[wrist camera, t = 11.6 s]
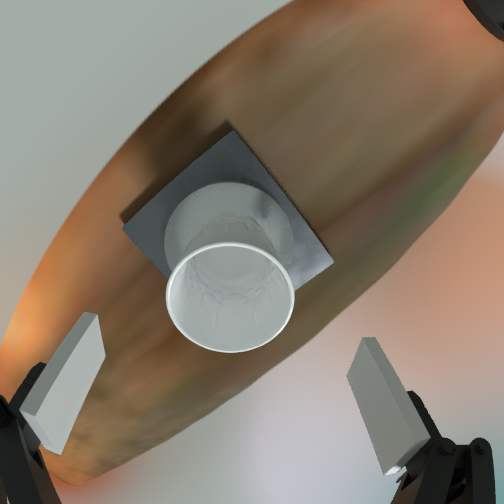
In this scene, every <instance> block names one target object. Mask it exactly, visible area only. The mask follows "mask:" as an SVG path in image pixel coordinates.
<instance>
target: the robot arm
mask: <svg viewBox="0 0 504 504" xmlns="http://www.w3.org/2000/svg"><path fill="white" fill-rule="evenodd" d="M464 1H465V3H466V4H467V6H468V7H469V9H470V10H471V11H472V13H473V14H474V15H475V17H476V18H477V19H478V20H479V21H480V23H481V24H482V25H483V26H484V27H485V28H486V29H487V30H488V31H489V32H490V33H491V34H493V35H494V36H495V37H496V38H498V39H499V40H501V41H503V42H504V0H464ZM105 357H106V356H105V351H104V347H103V342H102V337H101V332H100V327H99V322H98V316H97V314H92V313H87V312H84V313H83V314H82V315H81V317H80V318H79V319H78V321H77V322H76V324H75V325H74V326H73V328H72V329H71V330H70V332H69V333H68V335H67V336H66V337H65V339H64V340H63V342H62V343H61V345H60V346H59V348H58V349H57V350H56V352H55V353H54V355H53V356H52V358H51V359H50V361H49V362H48V364H45V363H42V362H39V363H38V364H37V365H35V366H34V367H33V368H32V369H31V370H30V372H29V373H28V375H27V377H26V378H25V379H24V381H23V382H22V384H21V385H20V387H19V388H18V390H17V391H16V393H15V394H14V396H13V398H12V399H11V401H10V402H9V404H8V402H7V401H6V399H5V398H4V397H3V396H2V395H0V504H7V497H8V500H9V503H10V504H62V503H61V501H60V499H59V497H58V495H57V493H56V490H55V488H54V486H53V483H52V481H51V478H50V476H49V473H48V471H47V468H46V466H45V463H44V460H43V457H42V454H41V452H40V450H39V448H38V447H39V445H40V443H42V444H43V446H44V447H45V448H46V449H47V450H49V451H52V452H54V453H57V454H59V455H61V453H62V451H63V448H64V446H65V443H66V441H67V439H68V436H69V434H70V431H71V429H72V427H73V424H74V422H75V420H76V418H77V415H78V413H79V411H80V409H81V406H82V404H83V402H84V400H85V398H86V396H87V393H88V391H89V389H90V387H91V385H92V383H93V381H94V379H95V377H96V375H97V373H98V370H99V368H100V366H101V364H102V362H103V360H104V358H105ZM347 378H348V381H349V383H350V386H351V389H352V391H353V394H354V396H355V399H356V401H357V404H358V407H359V409H360V412H361V414H362V417H363V419H364V422H365V425H366V428H367V430H368V433H369V436H370V439H371V441H372V444H373V447H374V450H375V452H376V455H377V458H378V461H379V463H380V466H381V469H382V472H383V475H388V474H392V473H396V472H399V471H400V470H401V469H402V468H403V467H404V466H406V469H407V471H406V472H405V473H404V474H403V475H402V476H401V477H400V478H399V479H398V480H397V481H396V482H397V483H398V482H399V481H400V480H401V479H402V480H401V482H400V485H399V487H398V489H397V491H396V494H395V496H394V498H393V500H392V502H391V504H496V495H495V478H494V466H493V457H492V449H491V446H490V444H489V442H488V441H487V440H485V439H484V438H476V439H474V440H473V441H472V442H471V443H470V444H469V445H456V444H455V443H454V442H453V441H452V440H450V439H448V438H442V436H441V435H440V433H439V431H438V429H437V427H436V425H435V423H434V422H433V420H432V418H431V416H430V414H428V411H427V409H426V408H425V407H424V406H425V405H424V404H423V402H422V400H421V398H420V397H419V396H418V395H417V394H416V393H415V392H413V391H407V392H406V390H405V388H404V386H403V385H402V383H401V381H400V379H399V377H398V376H397V374H396V372H395V370H394V369H393V367H392V365H391V364H390V362H389V360H388V359H387V357H386V355H385V353H384V352H383V350H382V348H381V347H380V345H379V343H378V341H377V340H376V338H375V337H367V338H365V337H364V338H362V340H361V342H360V345H359V348H358V350H357V352H356V355H355V357H354V360H353V362H352V365H351V367H350V369H349V372H348V374H347ZM6 494H7V495H6Z"/></svg>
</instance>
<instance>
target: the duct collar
mask: <svg viewBox="0 0 504 504" xmlns="http://www.w3.org/2000/svg"><path fill="white" fill-rule="evenodd" d="M231 211H237V212H240V213H243V214H246V215H249V216H251V217H253V218H254V219H255V220H256V221H257V222H258V223H259V224H260V225H261V226H262V227H263V228H264V230H265V232H266V234H267V235H268V237H269V238H270V240H271V241H272V243H273V245H274V247H275V248H276V250H277V252H278V254H279V257H280V259H281V261H282V263H283V265H284V267H285V269H286V271H287V273H288V275H289V277H290V279H291V282H292V285H293V289H294V291H295V290H296V289H298V288H299V287H301V286H302V285H303V284H305V283H306V282H308V281H309V280H310V279H312V278H313V277H314V276H316V275H317V274H319V273H320V272H321V271H323V270H324V269H325V268H327V267H328V266H330V265H331V264H332V263H334V261H333V259H332V258H331V257H330V255H329V254H328V252H327V251H326V250H325V248H324V247H323V245H322V244H321V243H320V241H319V240H318V238H317V237H316V236H315V234H314V233H313V231H312V230H311V229H310V227H309V226H308V225H307V223H306V222H305V220H304V219H303V218H302V216H301V215H300V214H299V212H298V211H297V210H296V208H295V207H294V206H293V204H292V203H291V202H290V200H289V199H288V198H287V196H286V195H285V194H284V192H283V191H282V190H281V189H280V187H279V186H278V185H277V183H276V182H275V181H274V179H273V178H272V177H271V176H270V174H269V173H268V172H267V171H266V169H265V168H264V167H263V165H262V164H261V163H260V162H259V160H258V159H257V158H256V157H255V155H254V154H253V153H252V152H251V150H250V149H249V148H248V147H247V146H246V144H245V143H244V142H243V141H242V139H241V138H240V137H239V136H238V135H237V133H236V132H235V131H234V130H232V131H231V132H230V133H228V134H227V135H226V136H225V137H223V138H222V139H221V140H220V141H218V142H217V143H216V144H215V145H213V146H212V147H211V148H210V149H208V150H207V151H206V152H205V153H203V154H202V155H201V156H200V157H199V158H197V159H196V160H195V161H194V162H193V163H192V164H190V165H189V166H188V167H187V168H186V169H185V170H183V171H182V172H181V173H180V174H179V175H178V176H176V177H175V178H174V179H173V180H172V181H171V182H170V183H169V184H167V185H166V186H165V187H164V188H163V189H162V190H161V191H160V192H159V193H158V194H157V195H155V196H154V197H153V198H152V199H151V200H150V201H149V202H148V203H147V204H146V205H145V206H144V207H143V208H142V209H141V210H140V211H138V212H137V213H136V214H135V215H134V216H133V217H132V218H131V219H130V220H129V221H128V222H127V223H126V224H125V225H124V226H123V227H122V228H121V229H122V230H123V231H124V232H125V233H126V234H127V235H128V236H129V238H130V239H131V240H132V241H133V242H134V243H135V244H136V245H137V246H138V247H139V249H140V250H141V251H142V252H143V253H144V254H145V255H146V256H147V257H148V258H149V259H150V260H151V261H152V263H153V264H154V265H155V266H156V267H157V268H158V269H159V270H160V271H161V272H162V273H163V274H164V275H165V276H166V277H167V278H168V279H169V278H170V275H171V273H172V272H173V270H174V268H175V266H176V264H177V263H178V261H179V259H180V257H181V256H182V254H183V252H184V250H185V248H186V247H187V245H188V244H189V242H190V241H191V239H192V238H193V236H194V235H195V233H196V232H197V231H198V230H199V229H200V228H201V226H202V224H203V223H204V221H206V220H208V219H209V218H211V217H213V216H214V215H216V214H218V213H222V212H231Z"/></svg>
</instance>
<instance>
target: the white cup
mask: <svg viewBox="0 0 504 504" xmlns="http://www.w3.org/2000/svg"><path fill="white" fill-rule="evenodd" d="M166 304H167V309H168V312H169V315H170V317H171V319H172V321H173V323H174V324H175V326H176V327H177V328H178V329H179V331H180V332H181V333H182V334H183V335H184V336H186V337H187V338H188V339H190V340H191V341H192V342H194V343H196V344H198V345H200V346H202V347H204V348H207V349H210V350H214V351H219V352H243V351H248V350H251V349H254V348H257V347H260V346H262V345H264V344H266V343H267V342H269V341H270V340H272V339H273V338H274V337H276V336H277V335H278V334H279V333H280V332H281V331H282V329H283V328H284V327H285V325H286V324H287V322H288V320H289V318H290V316H291V313H292V310H293V306H294V289H293V285H292V282H291V279H290V277H289V275H288V273H287V271H286V269H285V267H284V265H283V263H282V261H281V259H280V257H279V254H278V252H277V250H276V248H275V247H274V245H273V243H272V241H271V240H270V238H269V237H268V235H267V234H266V232H265V230H264V228H263V227H262V226H261V225H260V224H259V223H258V222H257V221H256V220H255V219H254V218H253V217H251V216H249V215H246V214H243V213H240V212H237V211H231V212H222V213H218V214H216V215H214V216H213V217H211V218H209V219H208V220H206V221H204V223H203V224H202V226H201V228H200V229H199V230H198V231H197V232H196V233H195V235H194V236H193V238H192V239H191V241H190V242H189V244H188V245H187V247H186V248H185V250H184V252H183V254H182V256H181V257H180V259H179V261H178V263H177V264H176V266H175V268H174V270H173V272H172V273H171V275H170V278H169V280H168V284H167V288H166Z"/></svg>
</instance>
